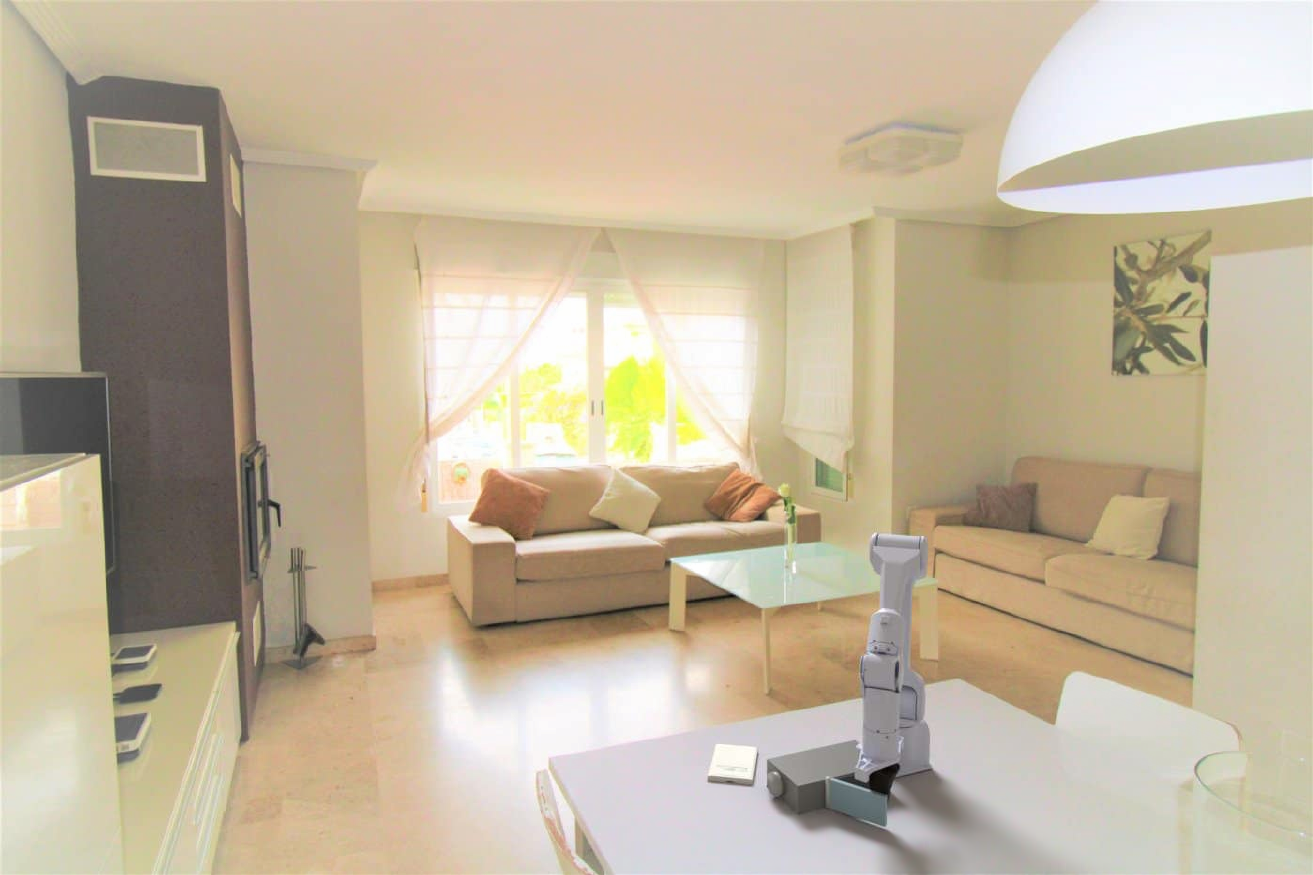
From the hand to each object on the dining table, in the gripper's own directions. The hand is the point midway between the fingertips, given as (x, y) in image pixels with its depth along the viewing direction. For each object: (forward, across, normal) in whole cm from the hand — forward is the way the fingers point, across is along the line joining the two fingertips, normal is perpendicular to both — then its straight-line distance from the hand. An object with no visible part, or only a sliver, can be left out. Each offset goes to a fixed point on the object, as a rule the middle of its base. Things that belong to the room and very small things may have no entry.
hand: (879, 805), depth 130 cm
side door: (+2, +1, -4) cm, 5 cm away
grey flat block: (+3, -4, -12) cm, 13 cm away
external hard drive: (+4, -1, -29) cm, 30 cm away
